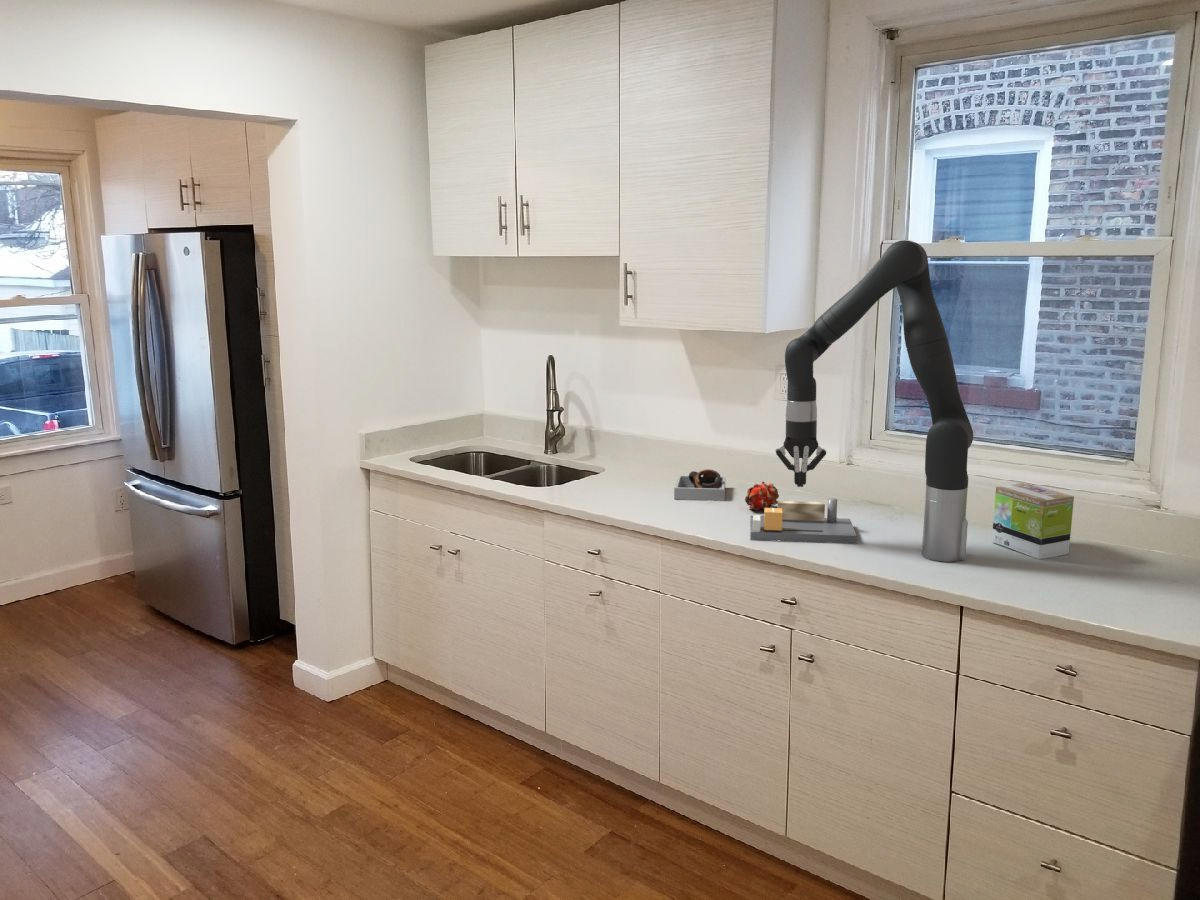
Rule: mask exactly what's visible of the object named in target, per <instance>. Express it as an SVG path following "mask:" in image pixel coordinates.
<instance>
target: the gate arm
mask: <svg viewBox="0 0 1200 900" xmlns="http://www.w3.org/2000/svg"><path fill="white" fill-rule="evenodd" d="M777 501H778V503H777V508H782V513H783V514H782V519H784V520H815V521H824V518H825V516H826V515H825V513H826V512H825V511H826V503H825V502H824V501H799V500H798V501H797V500H794V501H793V500H777Z"/></svg>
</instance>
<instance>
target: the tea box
mask: <svg viewBox="0 0 1200 900" xmlns="http://www.w3.org/2000/svg"><path fill="white" fill-rule="evenodd" d="M1074 500H1075V496H1074V495H1070V494H1066V493H1063V492H1059V491H1055V490H1053V489H1049V488H1046V487H1045V488H1044V487H1042V486H1038V485H1036V484H1035V485H1034V484H1031V483H1028V482H1020V483H1014V484H1013V483H1012V484H1009V485H1001V486H995V495H994V506H993V520H992V538H991V542H992V544H993V543H994V544H997V545H1000V546H1003V547H1006V548H1009V549H1010V550H1013V551H1017V552H1019V553H1020V554H1024V555H1027V556H1029V557H1032V558H1034V559H1037V560H1045V559H1049V558H1056V557H1060V556H1065V555H1068V554H1069V553H1070V552H1069V551H1070V542H1071V532H1072V522H1073V521H1072V520H1073V512H1074Z"/></svg>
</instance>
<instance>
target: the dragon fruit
mask: <svg viewBox="0 0 1200 900" xmlns="http://www.w3.org/2000/svg"><path fill="white" fill-rule="evenodd" d="M746 493H747V495H746V496H745V498H744V502H745V503H746V505H747V506H749V509H748V510H750V511H755V510H757V511H759V510H762V509H763V510H764V508H772V507H771V506H775V505H778V501H779V500H778V499H779V498H780V495H779V489H777V487H776V486H775V484H773V483H769V484H766V483H765V481H761V483H760V484H758V483H755V484H753V486H751V487H749V488H748V489H747V492H746Z"/></svg>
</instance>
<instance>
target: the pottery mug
mask: <svg viewBox="0 0 1200 900" xmlns="http://www.w3.org/2000/svg"><path fill="white" fill-rule="evenodd" d="M688 476H689V480H690V481H691V483H692V484H693V485H694V487H693V488H715V489H721V488H720V487H722V483H721V481H722V478H721V477H722V476H721V473H719V472H718V471H716V470H714V469H708V468H707V469H701V470H700V471H699V472H697V471H690V472H689V474H688ZM701 476H703V477H701ZM717 477H718V479H717V481H715V479H716V478H717Z"/></svg>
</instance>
